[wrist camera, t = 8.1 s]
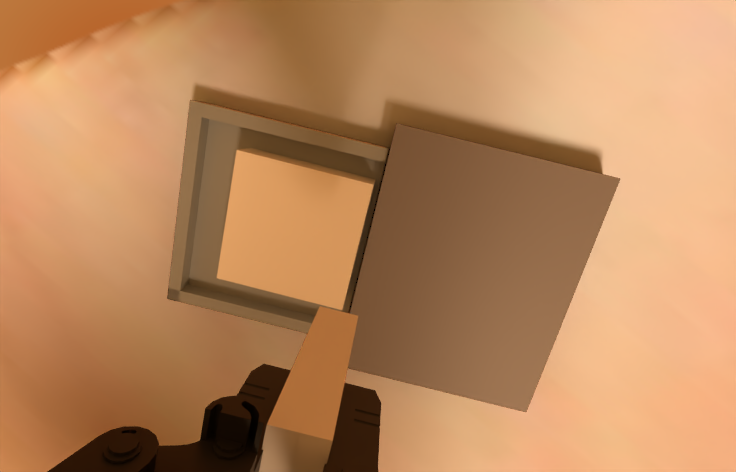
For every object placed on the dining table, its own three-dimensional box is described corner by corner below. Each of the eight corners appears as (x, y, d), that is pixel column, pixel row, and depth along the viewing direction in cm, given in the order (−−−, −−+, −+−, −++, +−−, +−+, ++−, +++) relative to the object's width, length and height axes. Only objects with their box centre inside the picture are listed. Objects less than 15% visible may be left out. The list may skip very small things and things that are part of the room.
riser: (517, 393, 29) (526, 412, 27) (340, 349, 29) (336, 365, 27) (603, 174, 25) (620, 178, 23) (396, 123, 25) (396, 123, 23)
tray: (344, 331, 29) (341, 341, 27) (178, 290, 29) (167, 298, 27) (388, 147, 25) (388, 148, 24) (201, 101, 25) (190, 99, 24)
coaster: (346, 294, 28) (342, 310, 25) (232, 264, 28) (216, 278, 25) (375, 179, 26) (373, 184, 23) (251, 147, 26) (236, 149, 23)
